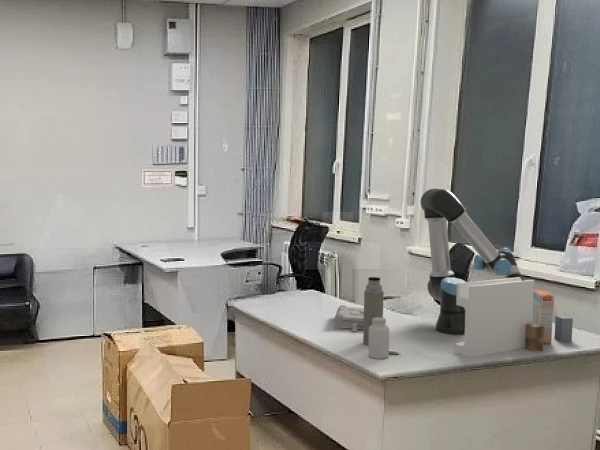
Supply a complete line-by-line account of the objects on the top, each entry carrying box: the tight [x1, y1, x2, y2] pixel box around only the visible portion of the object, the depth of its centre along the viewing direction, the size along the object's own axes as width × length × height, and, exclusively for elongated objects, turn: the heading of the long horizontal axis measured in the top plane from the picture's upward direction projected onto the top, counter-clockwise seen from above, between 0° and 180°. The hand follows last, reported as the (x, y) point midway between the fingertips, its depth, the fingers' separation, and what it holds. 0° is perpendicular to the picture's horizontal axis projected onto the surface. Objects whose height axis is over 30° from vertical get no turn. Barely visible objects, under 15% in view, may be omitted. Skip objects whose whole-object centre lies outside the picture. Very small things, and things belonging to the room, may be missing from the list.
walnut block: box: [525, 324, 544, 352], centre depth 251 cm, size 5×5×10 cm
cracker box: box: [532, 289, 555, 345], centre depth 266 cm, size 14×6×21 cm, turn 172°
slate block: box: [554, 315, 574, 342], centre depth 267 cm, size 5×5×10 cm
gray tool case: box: [332, 305, 364, 333], centre depth 288 cm, size 19×28×8 cm
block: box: [454, 277, 535, 358], centre depth 250 cm, size 35×8×28 cm, turn 119°
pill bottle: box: [367, 317, 390, 360], centre depth 238 cm, size 8×8×15 cm
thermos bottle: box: [362, 276, 385, 347], centre depth 256 cm, size 8×8×28 cm
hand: (530, 320), depth 275 cm, fingers closed
